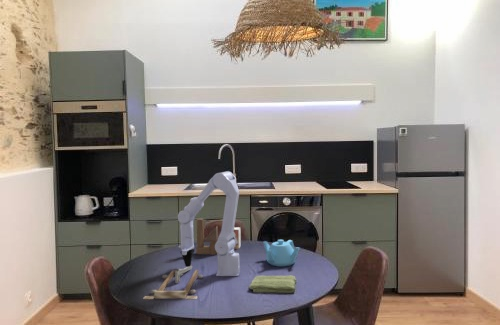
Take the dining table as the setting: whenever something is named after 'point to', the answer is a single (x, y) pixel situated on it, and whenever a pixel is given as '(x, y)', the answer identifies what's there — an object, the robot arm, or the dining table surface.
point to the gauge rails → (174, 294)
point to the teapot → (281, 253)
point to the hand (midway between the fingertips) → (188, 266)
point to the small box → (237, 237)
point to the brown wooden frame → (206, 239)
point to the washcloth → (274, 284)
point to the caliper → (181, 273)
